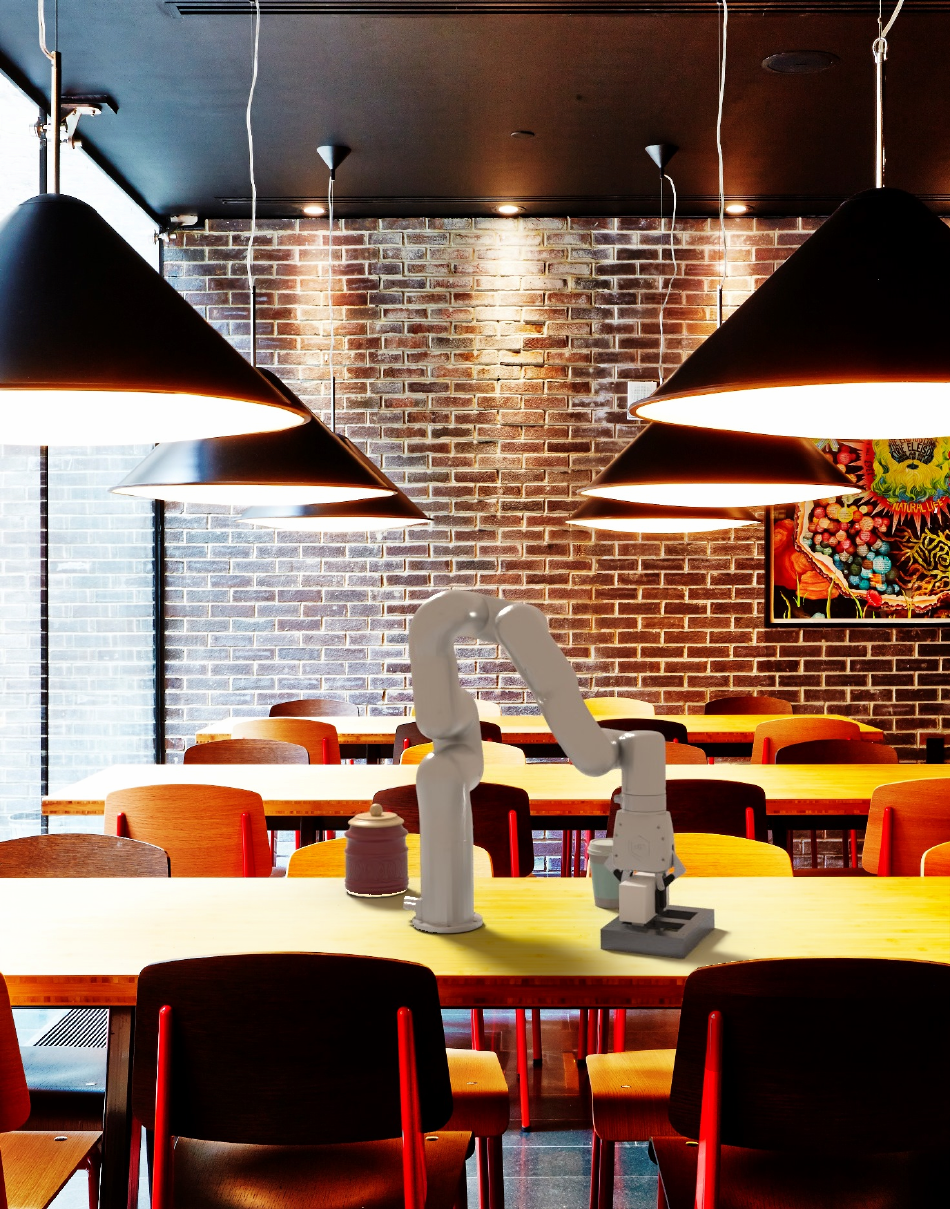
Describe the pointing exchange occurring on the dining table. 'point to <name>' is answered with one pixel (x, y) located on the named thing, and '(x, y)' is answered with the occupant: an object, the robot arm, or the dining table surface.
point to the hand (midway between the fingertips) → (644, 909)
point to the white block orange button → (639, 898)
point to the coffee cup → (603, 874)
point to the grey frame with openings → (661, 932)
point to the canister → (376, 853)
